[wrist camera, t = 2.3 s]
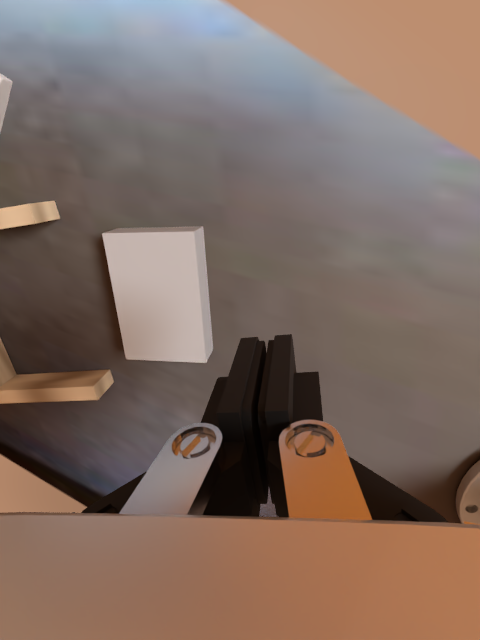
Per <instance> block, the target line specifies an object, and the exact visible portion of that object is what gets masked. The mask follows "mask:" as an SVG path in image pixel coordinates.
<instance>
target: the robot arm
mask: <svg viewBox="0 0 480 640" xmlns="http://www.w3.org/2000/svg"><path fill="white" fill-rule="evenodd" d="M268 488H270V494H271V500H272V504H275V509H276V515H278V516H279V517H259V511H260V504H266V503H267V499H268ZM455 502H456V510H457V514H458V517H459V519H460V521H461V523H448V522H447V521H446V519H445V518H443V517H442V516H441V515H440V514H438V513H437V512H436V511H435V510H433V509H431V508H430V507H428V506H427V505H425V504H424V503H422V502H420V501H419V500H417V499H416V498H414V497H412V496H411V495H409V494H408V493H406V492H404V491H403V490H401V489H400V488H398V487H396V486H395V485H393V484H392V483H390V482H389V481H387V480H385V479H384V478H382V477H381V476H379V475H377V474H376V473H374V472H373V471H371V470H369V469H368V468H366V467H365V466H363V465H362V464H360V463H358V462H357V461H355V460H354V459H352V458H350V457H349V456H348V455H347V452H346V449H345V447H344V444H343V441H342V439H341V436H340V434H339V433H338V431H337V430H336V429H335V428H334V427H333V426H331V425H330V424H328V423H325V422H323V415H322V405H321V395H320V384H319V374H318V372H304V373H296V366H295V357H294V348H293V339H292V334H290V335H277V336H275V338H274V340H269V342H268V348H267V353H266V347H265V342H264V341H259V339H258V337H251V338H241V340H240V343H239V346H238V349H237V352H236V355H235V358H234V361H233V364H232V367H231V370H230V373H229V376H228V377H219V378H218V379H217V381H216V384H215V386H214V389H213V392H212V394H211V397H210V400H209V402H208V405H207V408H206V410H205V413H204V415H203V418H202V421H201V423H195V424H191V425H188V426H185V427H183V428H181V429H179V430H178V431H177V432H175V433H174V434H173V435H172V436H171V437H170V438H169V440H168V441H167V442H166V444H165V445H164V447H163V448H162V450H161V451H160V453H159V454H158V456H157V457H156V459H155V460H154V462H153V463H152V465H151V466H150V468H149V469H148V471H147V472H145V473H143V474H142V475H140V476H138V477H137V478H135V479H133V480H132V481H130V482H128V483H127V484H125V485H123V486H122V487H120V488H118V489H117V490H115V491H113V492H112V493H110V494H108V495H107V496H105V497H103V498H102V499H100V500H98V501H97V502H95V503H93V504H92V505H90V506H89V507H87V508H86V509H85V510H83V511H82V513H75V512H73V513H41V512H39V513H38V512H22V513H21V512H17V513H0V640H480V460H479V461H478V462H477V463H476V464H474V465H473V466H472V467H471V468H470V469H469V471H468V472H467V473H466V475H465V476H464V477H463V479H462V481H461V483H460V485H459V487H458V489H457V495H456V501H455Z"/></svg>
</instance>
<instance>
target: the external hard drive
mask: <svg viewBox="0 0 480 640" xmlns="http://www.w3.org/2000/svg"><path fill="white" fill-rule="evenodd" d="M11 86H12V81H11V80H10V79H8V78H6V77H5V76H3V75H2V74H0V132H1V128H2V124H3V120H4V116H5V112H6V107H7V103H8V99H9V95H10V91H11Z"/></svg>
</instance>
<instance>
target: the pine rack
mask: <svg viewBox="0 0 480 640" xmlns="http://www.w3.org/2000/svg"><path fill="white" fill-rule="evenodd" d="M56 219H60V216H59V213H58V210H57V206H56V203H55V201H47V202H39V203H31V204H25V205H19V206H13V207H7V208H2V209H0V229H5V228H11V227H18V226H24V225H30V224H36V223H41V222H46V221H51V220H56ZM113 383H114V381H113V377H112V374H111V371H110V369H109V370H91V371H74V372H56V373H39V374H21V375H17V374H16V372H15V370H14V368H13V365H12V363H11V361H10V359H9V356H8V354H7V352H6V349H5V347H4V345H3V343H2V340H1V338H0V403H27V402H54V401H81V400H98V399H99V398H100V397H101V396H102V395H103V394H104V393H105V392H106V390H107V389H108V388H109V387H110V386H111V385H112V384H113Z"/></svg>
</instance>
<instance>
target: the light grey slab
mask: <svg viewBox="0 0 480 640" xmlns="http://www.w3.org/2000/svg"><path fill="white" fill-rule="evenodd" d="M102 236H103V241H104V246H105V252H106V257H107V262H108V267H109V273H110V278H111V283H112V288H113V294H114V299H115V304H116V309H117V315H118V320H119V325H120V331H121V336H122V341H123V346H124V352H125V357H126V359H129V360H152V361H175V362H198V363H206V362H207V360H208V358H209V356H210V354H211V352H212V350H213V342H212V329H211V317H210V305H209V293H208V280H207V268H206V256H205V243H204V231H203V226H195V227H149V228H117V229H114V230H111V231H108V232H105V233H102Z"/></svg>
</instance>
